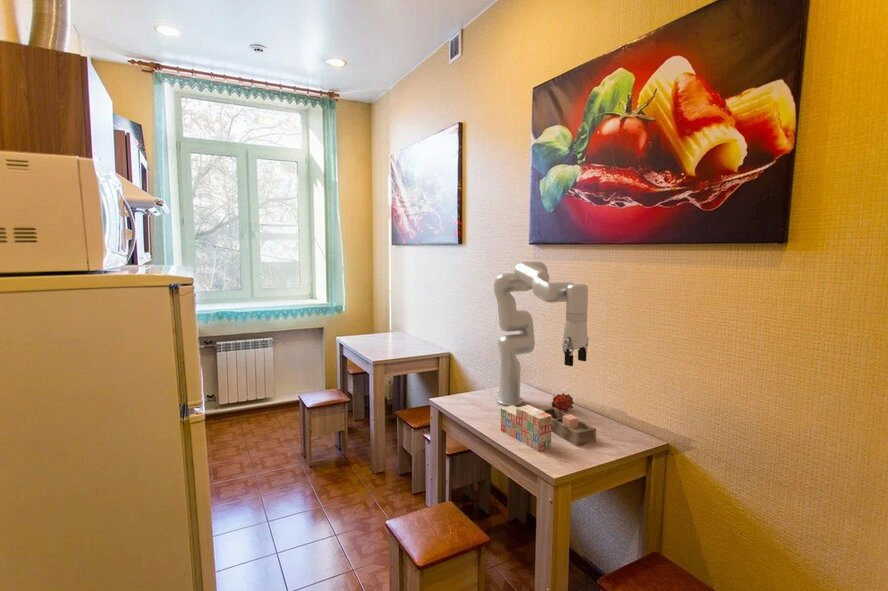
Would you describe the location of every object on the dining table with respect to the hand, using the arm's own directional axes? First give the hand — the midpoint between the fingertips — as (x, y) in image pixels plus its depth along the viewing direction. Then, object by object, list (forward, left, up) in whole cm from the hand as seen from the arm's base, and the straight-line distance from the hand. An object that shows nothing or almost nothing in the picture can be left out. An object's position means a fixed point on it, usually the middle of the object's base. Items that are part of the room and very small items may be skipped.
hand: (575, 363), depth 162 cm
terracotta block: (-3, 0, -26) cm, 26 cm away
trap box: (-6, 0, -29) cm, 29 cm away
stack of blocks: (-7, -17, -29) cm, 35 cm away
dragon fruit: (-23, +14, -29) cm, 40 cm away
